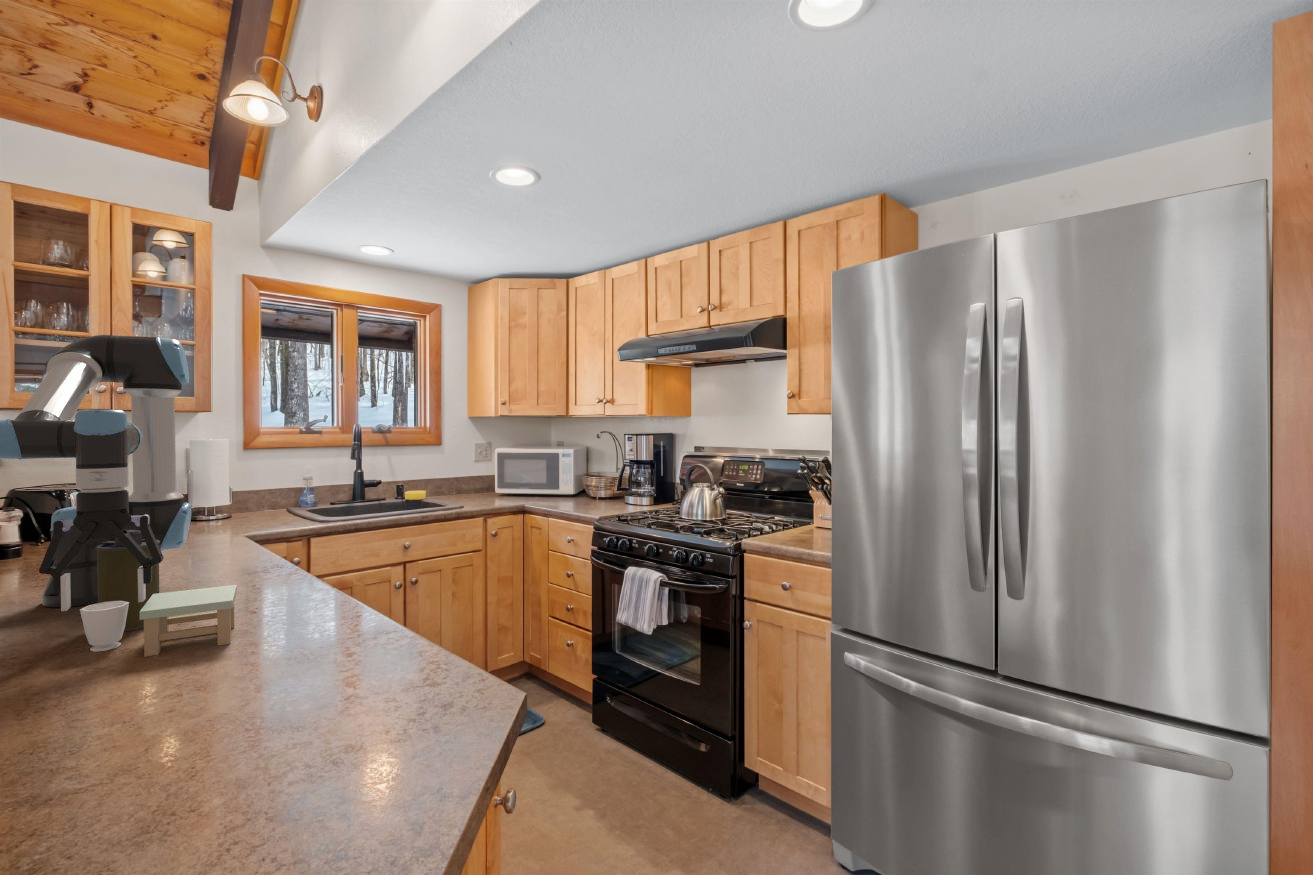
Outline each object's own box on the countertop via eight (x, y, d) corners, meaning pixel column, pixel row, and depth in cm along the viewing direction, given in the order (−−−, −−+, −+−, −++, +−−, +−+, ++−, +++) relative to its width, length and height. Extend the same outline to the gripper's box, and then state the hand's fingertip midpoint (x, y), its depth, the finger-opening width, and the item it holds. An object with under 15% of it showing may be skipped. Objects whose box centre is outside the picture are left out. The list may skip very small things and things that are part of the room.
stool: (153, 635, 125) (153, 593, 125) (237, 624, 132) (237, 584, 132) (140, 657, 113) (139, 611, 113) (233, 643, 120) (232, 600, 120)
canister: (173, 617, 137) (172, 527, 136) (129, 633, 126) (127, 535, 126) (128, 616, 138) (127, 526, 138) (81, 632, 128) (79, 535, 127)
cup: (80, 657, 114) (79, 613, 114) (81, 643, 121) (80, 601, 121) (130, 647, 118) (129, 605, 118) (128, 634, 126) (127, 595, 126)
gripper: (12, 495, 110) (14, 619, 110) (175, 488, 122) (176, 600, 122) (27, 491, 116) (29, 608, 117) (180, 485, 128) (182, 591, 129)
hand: (104, 604), depth 120 cm, fingers open, 10 cm apart
